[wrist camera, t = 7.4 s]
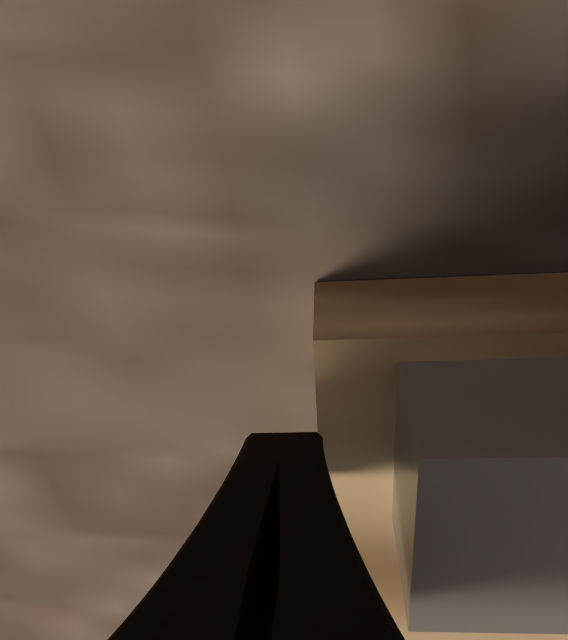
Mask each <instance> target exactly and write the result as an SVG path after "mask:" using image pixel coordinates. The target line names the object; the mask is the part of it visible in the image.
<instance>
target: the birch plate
mask: <svg viewBox="0 0 568 640" xmlns="http://www.w3.org/2000/svg"><path fill="white" fill-rule="evenodd" d="M313 348H314V367H315V386H316V405H317V424H318V434H320V435H321V436H322V437H323V448H324V454H325V459H326V464H327V468H328V472H329V475H330V478H331V482H332V485H333V488H334V491H335V494H336V497H337V500H338V502H339V505H340V507H341V510H342V513H343V515H344V518H345V520H346V523H347V525H348V528H349V530H350V533H351V535H352V537H353V540H354V542H355V544H356V546H357V549H358V551H359V553H360V555H361V557H362V559H363V561H364V563H365V566H366V568H367V570H368V572H369V574H370V576H371V578H372V580H373V582H374V584H375V586H376V588H377V590H378V592H379V594H380V596H381V597H382V599H383V601H384V603H385V605H386V607H387V608H388V610H389V612H390V614H391V616H392V617H393V619H394V621H395V623H396V625H397V627H398V628H399V630H400V632H401V633H402V635H403V637H404V638H405V640H568V634H521V633H462V632H408V627H407V619H406V612H405V605H404V598H403V591H402V584H401V577H400V570H399V563H398V556H397V549H396V542H395V535H394V528H393V521H392V507H393V477H394V447H395V418H396V388H397V362H412V361H451V360H490V359H529V358H568V272H564V273H538V274H512V275H486V276H460V277H435V278H409V279H383V280H357V281H332V282H315V291H314V326H313Z"/></svg>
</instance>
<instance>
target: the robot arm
mask: <svg viewBox="0 0 568 640" xmlns="http://www.w3.org/2000/svg"><path fill="white" fill-rule="evenodd" d="M108 640H405V638H404V637H403V635H402V633H401V632H400V630H399V628H398V627H397V625H396V623H395V621H394V619H393V617H392V616H391V614H390V612H389V610H388V608H387V607H386V605H385V603H384V601H383V599H382V597H381V596H380V594H379V592H378V590H377V588H376V586H375V584H374V582H373V580H372V578H371V576H370V574H369V572H368V570H367V568H366V566H365V563H364V561H363V559H362V557H361V555H360V553H359V551H358V549H357V546H356V544H355V542H354V540H353V537H352V535H351V533H350V530H349V528H348V525H347V523H346V520H345V518H344V515H343V513H342V510H341V507H340V505H339V502H338V500H337V497H336V494H335V491H334V488H333V485H332V482H331V478H330V475H329V472H328V468H327V464H326V459H325V454H324V448H323V437H322V436H321V435H320V434H318V433H317V432H297V433H251V434H250V435H249V436H248V437H247V438H246V440H245V442H244V444H243V446H242V449H241V451H240V453H239V455H238V457H237V458H236V460H235V462H234V464H233V466H232V468H231V470H230V472H229V473H228V475H227V477H226V479H225V480H224V482H223V484H222V486H221V487H220V489H219V491H218V492H217V494H216V496H215V497H214V499H213V500H212V502H211V504H210V505H209V507H208V508H207V510H206V512H205V513H204V515H203V516H202V518H201V520H200V521H199V523H198V524H197V526H196V527H195V529H194V530H193V532H192V533H191V534H190V536H189V537H188V539H187V540H186V542H185V543H184V544H183V546H182V547H181V549H180V550H179V552H178V553H177V554H176V556H175V557H174V559H173V560H172V561H171V563H170V564H169V566H168V567H167V568H166V570H165V571H164V572H163V574H162V575H161V576H160V578H159V579H158V580H157V582H156V583H155V584H154V585H153V587H152V588H151V589H150V590H149V592H148V593H147V594H146V596H145V597H144V598H143V599H142V600H141V602H140V603H139V604H138V605H137V606H136V608H135V609H134V610H133V611H132V612H131V614H130V615H129V616H128V617H127V618H126V620H125V621H124V622H123V623H122V624H121V625H120V627H119V628H118V629H117V630H116V631H115V632H114V633H113V634H112V635H111V637H110V638H109V639H108Z"/></svg>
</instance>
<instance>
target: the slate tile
mask: <svg viewBox="0 0 568 640" xmlns="http://www.w3.org/2000/svg"><path fill="white" fill-rule="evenodd" d="M392 521H393V528H394V535H395V542H396V549H397V556H398V563H399V570H400V577H401V584H402V591H403V598H404V605H405V612H406V619H407V627H408V632H462V633H521V634H568V358H529V359H490V360H451V361H412V362H397V388H396V418H395V447H394V477H393V507H392Z"/></svg>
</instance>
